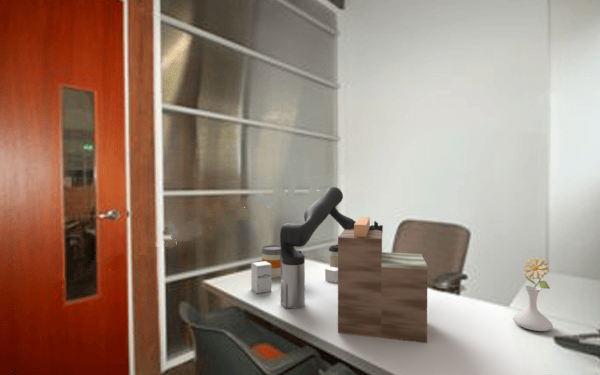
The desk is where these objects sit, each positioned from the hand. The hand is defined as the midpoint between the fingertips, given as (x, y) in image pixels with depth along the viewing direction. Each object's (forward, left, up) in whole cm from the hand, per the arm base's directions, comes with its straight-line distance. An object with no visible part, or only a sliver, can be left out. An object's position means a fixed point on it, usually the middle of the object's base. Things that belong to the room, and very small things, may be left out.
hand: (364, 223), depth 133 cm
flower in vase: (+45, -36, -34) cm, 67 cm away
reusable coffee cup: (-21, +58, -34) cm, 70 cm away
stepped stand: (-3, -16, -34) cm, 38 cm away
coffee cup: (+13, +50, -34) cm, 62 cm away
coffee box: (-17, +40, -34) cm, 55 cm away
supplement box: (-33, +36, -34) cm, 59 cm away
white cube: (+5, +38, -34) cm, 51 cm away
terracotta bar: (-5, -7, -2) cm, 9 cm away
